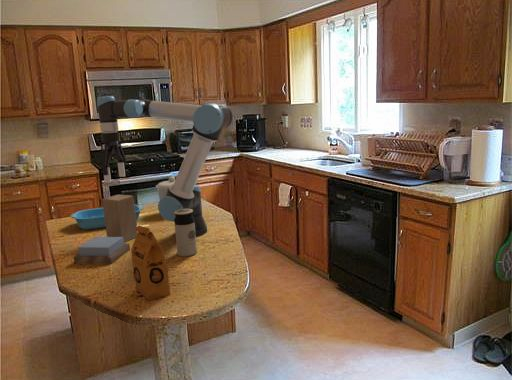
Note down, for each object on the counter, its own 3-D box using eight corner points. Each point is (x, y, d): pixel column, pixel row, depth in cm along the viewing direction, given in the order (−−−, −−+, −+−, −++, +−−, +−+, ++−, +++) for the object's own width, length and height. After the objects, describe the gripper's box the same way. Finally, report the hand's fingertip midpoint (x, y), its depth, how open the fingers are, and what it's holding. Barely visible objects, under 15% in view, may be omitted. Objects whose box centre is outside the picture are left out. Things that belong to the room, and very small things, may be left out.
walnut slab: (130, 251, 181) (129, 243, 180) (112, 265, 166) (110, 257, 165) (95, 250, 184) (94, 243, 183) (74, 265, 168) (73, 256, 168)
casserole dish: (142, 213, 242) (140, 201, 241) (147, 223, 222) (145, 210, 221) (73, 223, 229) (71, 210, 228) (71, 234, 209) (69, 220, 208)
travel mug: (173, 253, 173) (169, 211, 170) (190, 248, 178) (186, 207, 175) (183, 258, 167) (179, 214, 164) (200, 253, 172) (197, 210, 169)
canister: (181, 207, 252) (177, 172, 247) (197, 212, 238) (193, 175, 233) (153, 213, 240) (149, 177, 236) (168, 219, 227) (164, 180, 222)
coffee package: (144, 304, 130) (136, 236, 126) (132, 290, 141) (124, 227, 136) (174, 295, 135) (168, 229, 131) (161, 282, 146) (154, 221, 141)
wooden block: (123, 234, 203) (118, 194, 199) (138, 236, 198) (133, 195, 194) (107, 240, 195) (101, 198, 191) (121, 243, 190) (116, 200, 186)
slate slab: (124, 244, 179) (123, 236, 178) (109, 255, 166) (108, 247, 166) (96, 244, 181) (95, 236, 180) (79, 255, 169) (78, 247, 168)
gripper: (115, 130, 199) (120, 174, 203) (86, 134, 174) (93, 184, 179) (130, 129, 197) (135, 174, 202) (103, 134, 173) (109, 184, 178)
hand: (115, 179), depth 190 cm, fingers open, 13 cm apart
